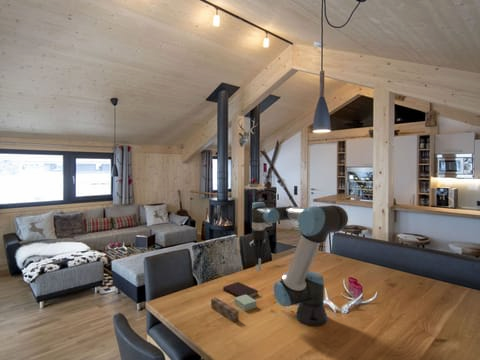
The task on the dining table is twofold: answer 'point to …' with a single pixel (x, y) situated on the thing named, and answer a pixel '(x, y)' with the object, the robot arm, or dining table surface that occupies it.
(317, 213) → the robot arm
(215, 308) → the board
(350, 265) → the dining table surface
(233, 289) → the book
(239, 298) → the block
